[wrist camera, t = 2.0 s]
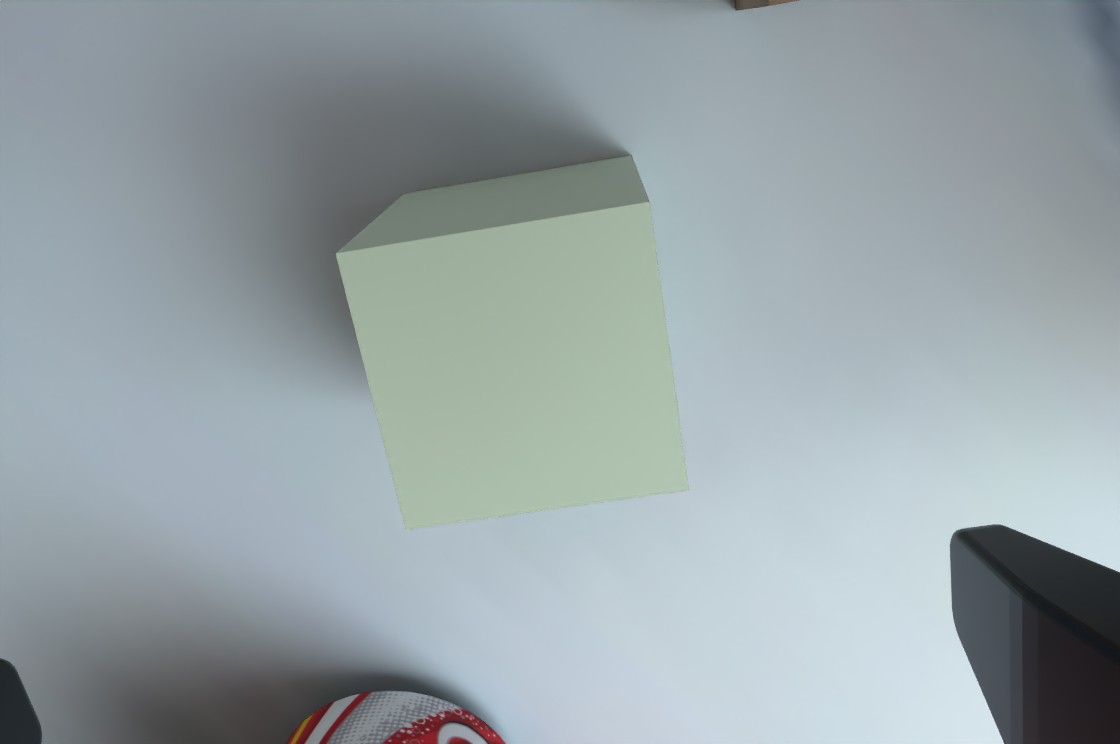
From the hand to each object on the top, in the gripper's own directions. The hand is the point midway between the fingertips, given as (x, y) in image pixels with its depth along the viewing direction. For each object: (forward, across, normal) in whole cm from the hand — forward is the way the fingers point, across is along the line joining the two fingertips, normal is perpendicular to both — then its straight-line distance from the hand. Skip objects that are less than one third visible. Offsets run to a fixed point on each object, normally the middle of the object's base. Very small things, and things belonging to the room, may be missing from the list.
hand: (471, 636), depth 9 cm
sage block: (+13, 0, 0) cm, 13 cm away
